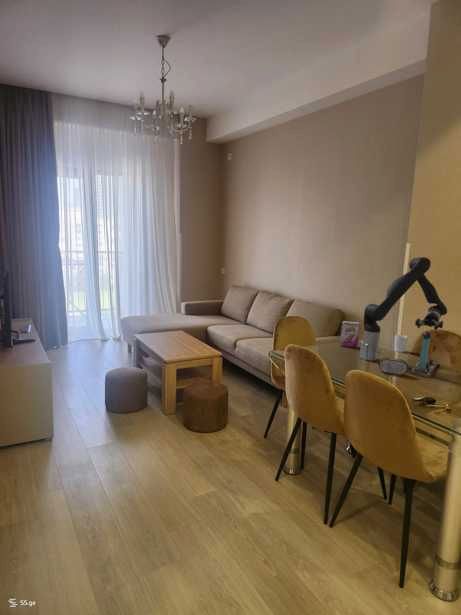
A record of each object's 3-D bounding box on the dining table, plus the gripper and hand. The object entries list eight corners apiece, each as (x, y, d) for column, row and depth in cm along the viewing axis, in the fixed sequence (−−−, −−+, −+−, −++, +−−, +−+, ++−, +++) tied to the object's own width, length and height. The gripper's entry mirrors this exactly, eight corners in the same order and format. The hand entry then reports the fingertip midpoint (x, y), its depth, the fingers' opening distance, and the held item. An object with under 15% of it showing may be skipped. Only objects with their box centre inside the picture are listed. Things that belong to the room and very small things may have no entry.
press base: (429, 377, 229) (431, 369, 229) (410, 373, 235) (411, 365, 234) (437, 364, 256) (438, 356, 256) (419, 360, 261) (420, 353, 261)
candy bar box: (339, 346, 285) (342, 322, 283) (339, 344, 290) (342, 320, 287) (357, 348, 283) (360, 323, 280) (356, 346, 288) (359, 322, 285)
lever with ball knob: (426, 373, 231) (432, 333, 227) (414, 371, 234) (420, 331, 230) (429, 368, 241) (435, 330, 237) (418, 366, 244) (423, 328, 240)
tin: (407, 375, 232) (409, 360, 230) (407, 376, 229) (409, 361, 227) (377, 370, 237) (379, 355, 235) (377, 372, 234) (379, 357, 232)
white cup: (406, 350, 285) (408, 336, 283) (405, 353, 278) (407, 338, 276) (393, 348, 288) (395, 334, 286) (392, 351, 281) (394, 336, 279)
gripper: (419, 311, 256) (413, 319, 244) (446, 313, 248) (441, 322, 236) (419, 323, 259) (413, 332, 246) (445, 326, 251) (440, 335, 238)
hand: (426, 327), depth 241 cm, fingers open, 8 cm apart
